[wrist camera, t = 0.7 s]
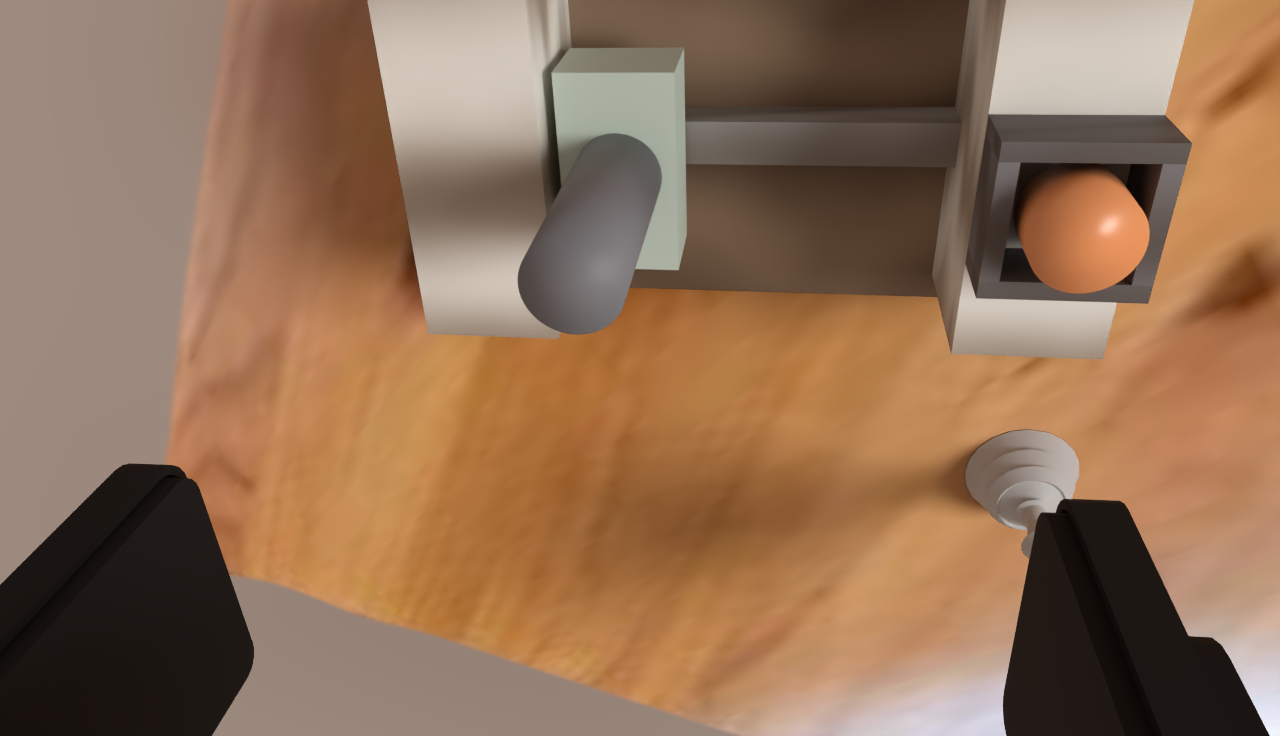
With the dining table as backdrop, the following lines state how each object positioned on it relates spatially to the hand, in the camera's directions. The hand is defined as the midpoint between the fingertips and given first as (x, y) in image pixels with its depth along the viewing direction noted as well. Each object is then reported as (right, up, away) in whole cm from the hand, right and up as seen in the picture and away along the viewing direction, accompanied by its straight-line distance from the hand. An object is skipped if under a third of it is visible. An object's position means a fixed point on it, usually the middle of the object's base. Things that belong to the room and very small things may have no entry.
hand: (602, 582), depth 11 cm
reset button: (+13, +7, +18) cm, 24 cm away
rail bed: (+5, +12, +27) cm, 30 cm away
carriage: (0, +10, +25) cm, 27 cm away
